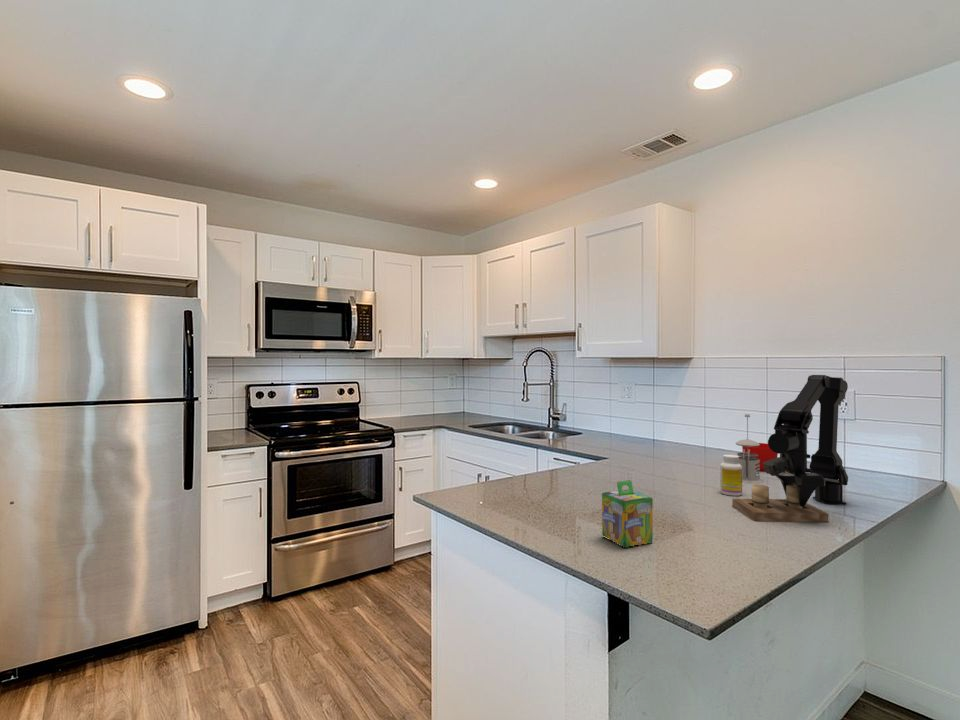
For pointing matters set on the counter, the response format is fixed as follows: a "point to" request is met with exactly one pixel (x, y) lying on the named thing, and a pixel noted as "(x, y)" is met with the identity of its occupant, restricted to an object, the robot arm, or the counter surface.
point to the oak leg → (792, 497)
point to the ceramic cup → (761, 453)
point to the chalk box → (627, 516)
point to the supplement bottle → (731, 476)
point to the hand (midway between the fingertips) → (795, 502)
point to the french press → (749, 460)
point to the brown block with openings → (776, 508)
